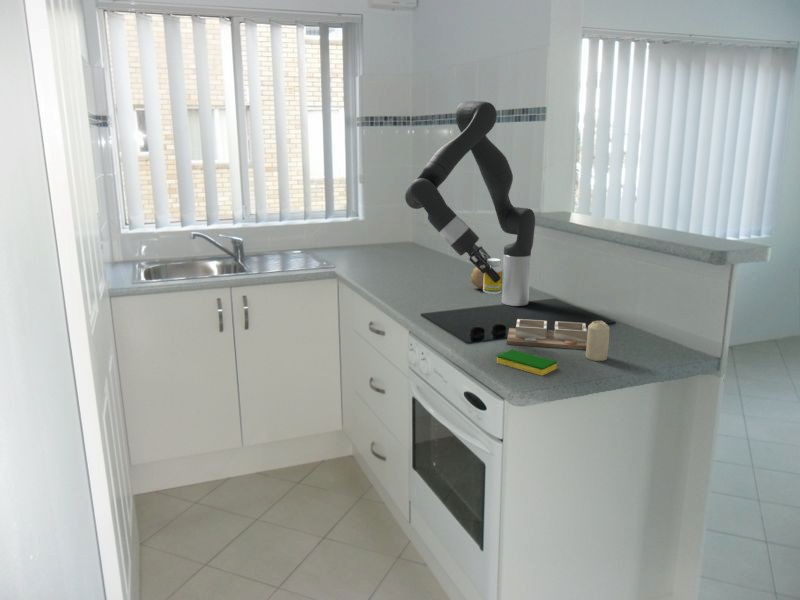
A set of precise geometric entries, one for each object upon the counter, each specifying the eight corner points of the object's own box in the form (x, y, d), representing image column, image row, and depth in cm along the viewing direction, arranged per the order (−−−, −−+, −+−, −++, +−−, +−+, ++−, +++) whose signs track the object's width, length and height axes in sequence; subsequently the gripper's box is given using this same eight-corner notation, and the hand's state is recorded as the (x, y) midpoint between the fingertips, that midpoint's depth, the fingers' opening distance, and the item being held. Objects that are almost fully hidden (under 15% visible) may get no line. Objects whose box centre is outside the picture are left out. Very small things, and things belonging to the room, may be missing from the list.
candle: (606, 362, 173) (609, 325, 171) (584, 359, 175) (587, 323, 173) (608, 356, 178) (611, 320, 176) (586, 353, 180) (589, 317, 178)
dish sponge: (511, 357, 178) (511, 349, 178) (557, 370, 169) (557, 360, 168) (495, 364, 173) (496, 355, 173) (542, 377, 164) (542, 367, 163)
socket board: (509, 331, 200) (509, 318, 199) (591, 336, 195) (592, 323, 194) (506, 344, 188) (507, 330, 187) (594, 350, 183) (595, 336, 182)
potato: (496, 292, 248) (497, 266, 246) (472, 292, 248) (473, 266, 246) (491, 286, 257) (492, 261, 255) (469, 287, 257) (469, 261, 254)
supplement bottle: (481, 289, 195) (482, 257, 193) (499, 289, 196) (501, 257, 193) (484, 294, 190) (486, 261, 188) (503, 294, 190) (504, 261, 188)
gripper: (465, 230, 183) (507, 275, 183) (471, 223, 196) (510, 264, 197) (445, 248, 185) (487, 292, 186) (453, 240, 199) (491, 281, 199)
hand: (499, 278), depth 191 cm, fingers closed on supplement bottle, 5 cm apart
